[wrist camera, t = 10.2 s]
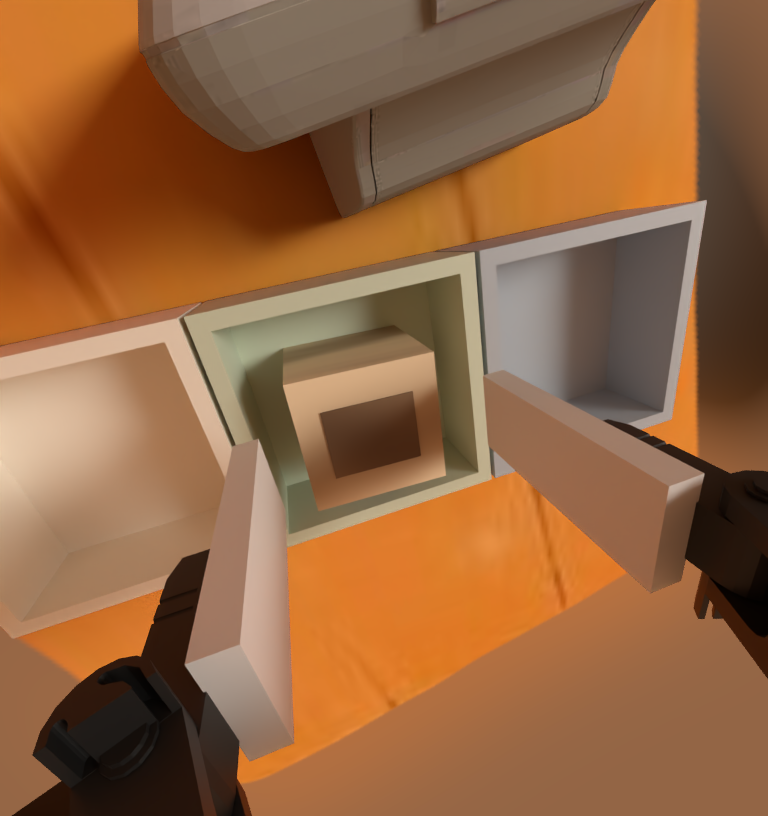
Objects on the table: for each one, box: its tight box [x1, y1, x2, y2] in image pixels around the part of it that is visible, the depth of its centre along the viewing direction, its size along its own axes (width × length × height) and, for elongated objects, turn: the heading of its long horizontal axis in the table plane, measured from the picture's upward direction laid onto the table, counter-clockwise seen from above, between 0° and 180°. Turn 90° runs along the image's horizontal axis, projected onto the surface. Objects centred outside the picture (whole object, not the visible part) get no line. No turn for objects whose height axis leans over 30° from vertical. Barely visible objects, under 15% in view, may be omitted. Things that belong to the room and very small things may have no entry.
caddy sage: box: [184, 252, 491, 547], centre depth 16 cm, size 10×10×4 cm
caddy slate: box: [434, 200, 707, 478], centre depth 18 cm, size 10×10×4 cm
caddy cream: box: [0, 302, 236, 639], centre depth 15 cm, size 10×10×4 cm
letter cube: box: [283, 325, 446, 511], centre depth 15 cm, size 5×5×5 cm
